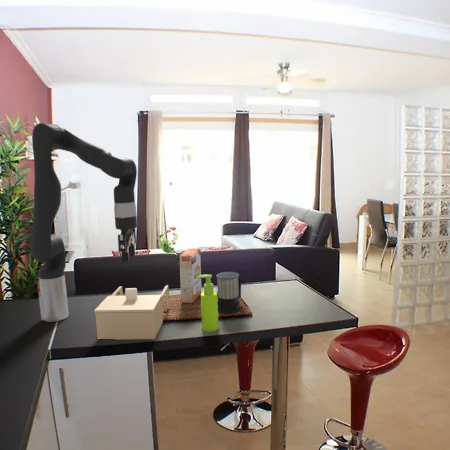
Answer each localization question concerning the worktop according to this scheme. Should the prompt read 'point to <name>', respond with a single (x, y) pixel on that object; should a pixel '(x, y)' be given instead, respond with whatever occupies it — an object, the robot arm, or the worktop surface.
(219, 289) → the milk frother
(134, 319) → the open wooden box
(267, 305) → the worktop surface
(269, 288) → the worktop surface
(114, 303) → the wooden box lid
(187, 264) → the cracker box
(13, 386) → the worktop surface
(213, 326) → the soap dispenser
